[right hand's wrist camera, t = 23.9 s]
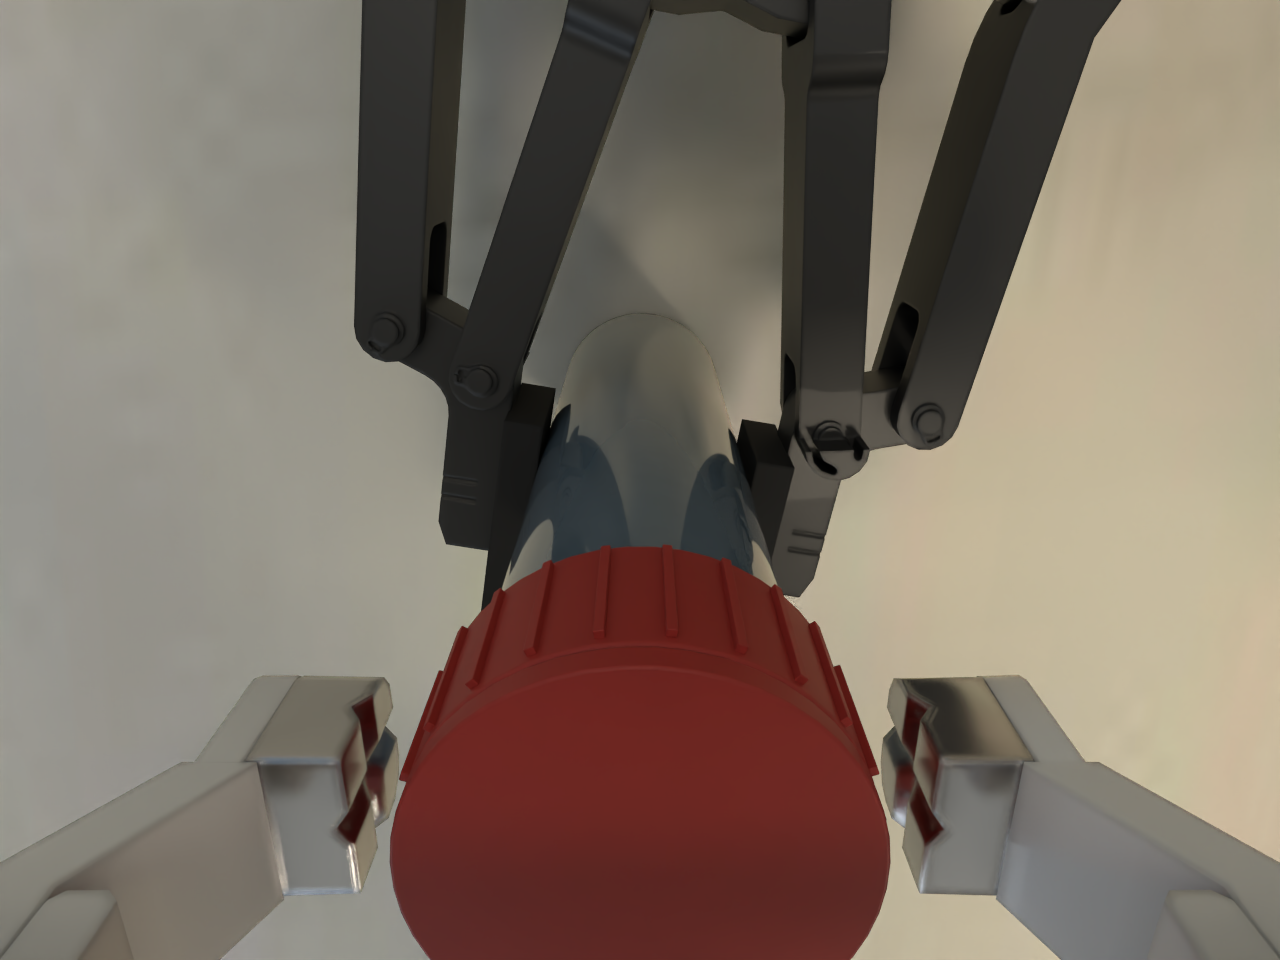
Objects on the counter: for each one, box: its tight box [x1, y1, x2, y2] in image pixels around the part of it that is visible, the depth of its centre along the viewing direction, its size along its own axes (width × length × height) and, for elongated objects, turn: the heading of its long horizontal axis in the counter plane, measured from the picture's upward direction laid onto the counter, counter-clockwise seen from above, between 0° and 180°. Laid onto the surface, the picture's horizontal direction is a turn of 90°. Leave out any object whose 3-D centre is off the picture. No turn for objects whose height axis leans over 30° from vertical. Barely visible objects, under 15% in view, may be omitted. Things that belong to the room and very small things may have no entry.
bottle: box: [502, 313, 779, 591], centre depth 17 cm, size 4×4×16 cm
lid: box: [390, 544, 890, 960], centre depth 10 cm, size 5×5×2 cm
